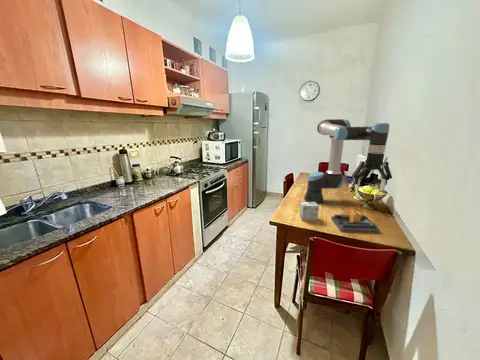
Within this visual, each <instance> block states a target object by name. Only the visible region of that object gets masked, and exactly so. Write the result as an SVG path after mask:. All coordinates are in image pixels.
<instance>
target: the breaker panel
mask: <svg viewBox="0 0 480 360" xmlns="http://www.w3.org/2000/svg"><path fill="white" fill-rule="evenodd" d="M334 216H335V215H333V216H331V221H332V223H333V224H334V225H335V226H336V228H337V229H338V230H339V231H340V232H346V231H349V232H350V231H352V233H378V234H379V233H380V230H381V228H380V227H378V226H377V228H348V227H343V226H342V224H370V225H376V224H375V222H373V221H372V220H370V219H369V218H368V219H362V218H363V217H362V216H361V218H360V222H351V221H350V220H349V219H350V216H341V217H340V218H335V217H334ZM350 233H351V232H350Z"/></svg>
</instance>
